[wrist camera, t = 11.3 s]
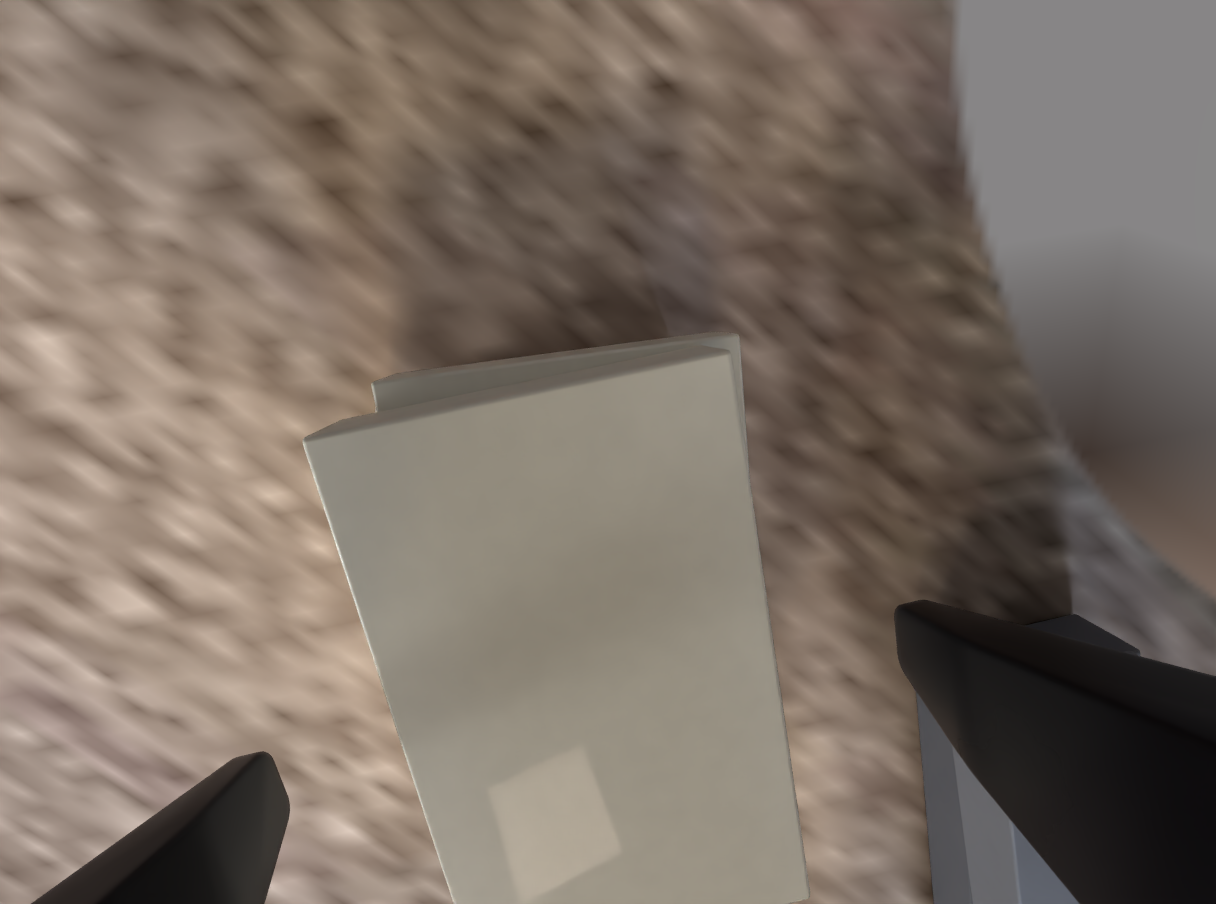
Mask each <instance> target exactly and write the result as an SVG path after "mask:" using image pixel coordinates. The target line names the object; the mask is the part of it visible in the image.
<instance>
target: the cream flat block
mask: <svg viewBox="0 0 1216 904" xmlns="http://www.w3.org/2000/svg"><path fill="white" fill-rule="evenodd" d="M699 345H703V346H709V347H714V348H720V349H726V350H729V351H730V353H731V356H732V363H733V369H734V376H735V383H736V390H737V397H738V403H739V410H740V417H741V424H742V431H743V438H744V444H745V451H746V458H747V465H748V472H749V462H748V448H747V434H746V421H745V407H744V393H743V379H742V366H741V352H740V338H739V335H738V334H736V333H725V332H706V333H699V334H691V335H684V336H676V337H668V338H661V339H653V340H646V341H638V342H631V343H623V344H616V345H608V346H600V347H593V348H585V349H578V350H570V351H563V352H555V353H547V354H540V355H532V356H525V357H517V358H510V359H502V360H495V361H487V362H479V363H472V364H464V365H457V366H449V367H442V368H434V369H427V370H419V371H411V372H404V373H397V374H394V375H391V376H388V377H385V378H382V379H379V380H377V381H374V382H372V385H371V387H372V392H373V396H374V401H375V405H376V408H375V413H376V412H381V411H386V410H391V409H395V408H400V407H405V406H410V405H415V404H420V403H424V402H429V401H434V400H439V399H444V398H449V397H453V396H458V395H463V394H468V393H473V392H477V391H482V390H487V389H492V388H497V387H502V386H506V385H511V384H516V383H521V382H526V381H530V380H535V379H540V378H545V377H550V376H555V375H559V374H564V373H569V372H574V371H579V370H583V369H588V368H593V367H598V366H603V365H608V364H612V363H617V362H622V361H627V360H632V359H636V358H641V357H646V356H651V355H656V354H661V353H665V352H670V351H675V350H680V349H685V348H689V347H694V346H699ZM749 479H750V475H749Z"/></svg>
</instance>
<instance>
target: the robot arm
mask: <svg viewBox="0 0 1216 904" xmlns="http://www.w3.org/2000/svg"><path fill="white" fill-rule="evenodd" d="M894 621H895V632H896V643H897V654H898V660H899V663H900V666H901V668H902V670H903V672H904V674H905V676H906V677H907V679H908V680H909V682H910V683H911V684H912V686H913V687H914V689H915V690H916V692H917V693H918V695H919V696H920V698H921V699H922V701H923V702H924V704H925V705H926V707H927V708H928V710H929V711H930V713H931V714H932V716H933V717H934V719H935V720H936V722H937V723H938V725H939V726H940V728H941V729H942V731H943V732H944V734H945V735H946V737H947V738H948V739H949V741H950V742H951V744H952V745H953V747H954V748H955V750H956V751H957V753H958V754H959V756H960V757H961V758H962V760H963V761H964V763H965V764H966V765H967V767H968V768H969V770H970V771H971V772H972V773H973V775H974V776H975V777H976V778H977V780H978V781H979V782H980V784H981V785H982V786H983V787H984V788H985V790H986V791H987V792H988V793H989V795H990V796H991V797H992V798H993V799H994V801H995V802H996V803H997V804H998V805H999V807H1000V808H1001V809H1002V810H1003V812H1004V813H1005V814H1006V815H1007V816H1008V818H1009V819H1010V820H1011V821H1012V823H1013V824H1014V825H1015V826H1016V827H1017V829H1018V830H1019V831H1020V832H1021V833H1022V835H1023V836H1024V837H1025V838H1026V840H1027V841H1028V842H1029V843H1030V844H1031V846H1032V847H1033V848H1034V849H1035V850H1036V852H1037V853H1038V854H1039V855H1040V857H1041V858H1042V859H1043V860H1044V861H1045V863H1046V864H1047V865H1048V866H1049V868H1050V869H1051V870H1052V871H1053V872H1054V874H1055V875H1056V876H1057V877H1058V878H1059V880H1060V881H1061V882H1062V883H1063V885H1064V886H1065V887H1066V888H1067V889H1068V891H1069V892H1070V893H1071V894H1072V895H1073V897H1074V898H1075V899H1076V900H1077V902H1078V903H1079V904H1216V676H1212V675H1209V674H1205V673H1201V672H1197V671H1193V670H1190V669H1186V668H1182V667H1178V666H1174V665H1171V664H1167V663H1163V662H1159V661H1155V660H1152V659H1148V658H1144V657H1140V656H1136V655H1133V654H1129V653H1125V652H1121V651H1117V650H1114V649H1110V648H1106V647H1102V646H1099V645H1095V644H1091V643H1087V642H1083V641H1080V640H1076V639H1072V638H1068V637H1064V636H1061V635H1057V634H1053V633H1049V632H1046V631H1042V630H1038V629H1034V628H1030V627H1027V626H1023V625H1019V624H1015V623H1011V622H1008V621H1004V620H1000V619H996V618H993V617H989V616H985V615H981V614H977V613H974V612H970V611H966V610H962V609H958V608H955V607H951V606H947V605H943V604H940V603H936V602H932V601H928V600H918V601H914V602H910V603H905V604H901V605H899V606H898V607H897V608H896V609H895V613H894ZM289 813H290V804H289V798H288V795H287V793H286V790H285V787H284V785H283V782H282V780H281V777H280V775H279V772H278V770H277V767H276V765H275V762H274V760H273V758H272V756H271V755H270V754H269V753H267V752H264V751H263V752H257V753H252V754H248V755H244V756H239V757H236V758H234V759H232V760H230V761H229V762H228V763H226V764H225V765H223V766H222V767H221V768H219V769H218V770H216V771H215V772H214V773H212V774H211V775H210V776H208V777H207V778H205V779H204V780H203V781H201V782H200V783H198V784H197V785H196V786H194V787H193V788H191V789H190V790H189V791H187V792H186V793H184V794H183V795H182V796H180V797H179V798H178V799H176V800H175V801H173V802H172V803H171V804H169V805H168V806H166V807H165V808H164V809H162V810H161V811H159V812H158V813H157V814H155V815H154V816H152V817H151V818H150V819H148V820H147V821H146V822H144V823H143V824H141V825H140V826H139V827H137V828H136V829H134V830H133V831H132V832H130V833H129V834H127V835H126V836H125V837H123V838H122V839H120V840H119V841H118V842H116V843H115V844H114V845H112V846H111V847H109V848H108V849H107V850H105V851H104V852H102V853H101V854H100V855H98V856H97V857H95V858H94V859H93V860H91V861H90V862H88V863H87V864H86V865H84V866H83V867H82V868H80V869H79V870H77V871H76V872H75V873H73V874H72V875H70V876H69V877H68V878H66V879H65V880H63V881H62V882H61V883H59V884H58V885H56V886H55V887H54V888H52V889H51V890H50V891H48V892H47V893H45V894H44V895H43V896H41V897H40V898H38V899H37V900H36V901H34V902H33V903H31V904H264V903H265V900H266V896H267V893H268V889H269V886H270V882H271V879H272V876H273V872H274V869H275V865H276V862H277V858H278V855H279V851H280V848H281V844H282V841H283V837H284V834H285V830H286V827H287V823H288V819H289Z"/></svg>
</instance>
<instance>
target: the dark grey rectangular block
mask: <svg viewBox="0 0 1216 904" xmlns="http://www.w3.org/2000/svg"><path fill="white" fill-rule="evenodd" d="M1026 626H1027V627H1030V628H1034V629H1038V630H1042V631H1046V632H1049V633H1053V634H1057V635H1061V636H1064V637H1068V638H1072V639H1076V640H1080V641H1083V642H1087V643H1091V644H1095V645H1099V646H1102V647H1106V648H1110V649H1114V650H1117V651H1121V652H1125V653H1129V654H1133V655H1136V656H1140V651H1139V650H1138V649H1137V648H1135V647H1133V646H1132V645H1130V644H1128V643H1126V642H1125V641H1123V640H1121V639H1119V638H1117V637H1116V636H1114V635H1112V634H1110V633H1109V632H1107V631H1105V630H1103V629H1102V628H1100V627H1098V626H1096V625H1094V624H1093V623H1091V622H1089V621H1087V620H1086V619H1084V618H1082V617H1080V616H1078V615H1076V614H1073V615H1068V616H1064V617H1060V618H1055V619H1051V620H1047V621H1043V622H1038V623H1034V624H1030V625H1026ZM1140 657H1141V656H1140ZM916 696H917V708H918V720H919V732H920V744H921V756H922V768H923V780H924V792H925V804H926V816H927V828H928V840H929V852H930V864H931V876H932V888H933V899H934V904H1079V903H1078V902H1077V900H1076V899H1075V898H1074V897H1073V895H1072V894H1071V893H1070V892H1069V891H1068V889H1067V888H1066V887H1065V886H1064V885H1063V883H1062V882H1061V881H1060V880H1059V878H1058V877H1057V876H1056V875H1055V874H1054V872H1053V871H1052V870H1051V869H1050V868H1049V866H1048V865H1047V864H1046V863H1045V861H1044V860H1043V859H1042V858H1041V857H1040V855H1039V854H1038V853H1037V852H1036V850H1035V849H1034V848H1033V847H1032V846H1031V844H1030V843H1029V842H1028V841H1027V840H1026V838H1025V837H1024V836H1023V835H1022V833H1021V832H1020V831H1019V830H1018V829H1017V827H1016V826H1015V825H1014V824H1013V823H1012V821H1011V820H1010V819H1009V818H1008V816H1007V815H1006V814H1005V813H1004V812H1003V810H1002V809H1001V808H1000V807H999V805H998V804H997V803H996V802H995V801H994V799H993V798H992V797H991V796H990V795H989V793H988V792H987V791H986V790H985V788H984V787H983V786H982V785H981V784H980V782H979V781H978V780H977V778H976V777H975V776H974V775H973V773H972V772H971V771H970V770H969V768H968V767H967V765H966V764H965V763H964V761H963V760H962V758H961V757H960V756H959V754H958V753H957V751H956V750H955V748H954V747H953V745H952V744H951V742H950V741H949V739H948V738H947V737H946V735H945V734H944V732H943V731H942V729H941V728H940V726H939V725H938V723H937V722H936V720H935V719H934V717H933V716H932V714H931V713H930V711H929V710H928V708H927V707H926V705H925V704H924V702H923V701H922V699H921V698H920V696H919V695H918V693H917V692H916Z"/></svg>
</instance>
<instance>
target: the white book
mask: <svg viewBox="0 0 1216 904" xmlns="http://www.w3.org/2000/svg"><path fill="white" fill-rule="evenodd" d="M303 446H304V449H305V453H306V456H307V459H308V462H309V465H310V468H311V471H312V474H313V477H314V480H315V483H316V486H317V489H318V492H319V495H320V498H321V501H322V504H323V507H324V510H325V513H326V516H327V520H328V523H329V526H330V529H331V532H332V535H333V538H334V541H335V544H336V547H337V550H338V553H339V556H340V559H341V562H342V565H343V568H344V571H345V574H346V577H347V580H348V583H349V586H350V590H351V593H352V596H353V599H354V602H355V605H356V608H357V611H358V614H359V617H360V620H361V623H362V626H363V629H364V632H365V635H366V638H367V641H368V644H369V647H370V650H371V653H372V657H373V660H374V663H375V666H376V669H377V672H378V675H379V678H380V681H381V684H382V687H383V690H384V693H385V696H386V699H387V702H388V705H389V708H390V711H391V714H392V717H393V720H394V723H395V727H396V730H397V733H398V736H399V739H400V742H401V745H402V748H403V751H404V754H405V757H406V760H407V763H408V766H409V769H410V772H411V775H412V778H413V781H414V784H415V787H416V790H417V794H418V797H419V800H420V803H421V806H422V809H423V812H424V815H425V818H426V821H427V824H428V827H429V830H430V833H431V836H432V839H433V842H434V845H435V848H436V851H437V854H438V857H439V860H440V864H441V867H442V870H443V873H444V876H445V879H446V882H447V885H448V888H449V891H450V894H451V897H452V900H453V903H454V904H789V903H793V902H797V901H801V900H805V899H808V898H809V897H810V888H809V881H808V875H807V868H806V861H805V854H804V847H803V840H802V834H801V827H800V820H799V813H798V806H797V800H796V793H795V786H794V779H793V772H792V765H791V759H790V752H789V745H788V738H787V731H786V724H785V718H784V711H783V704H782V697H781V690H780V683H779V677H778V670H777V663H776V656H775V649H774V642H773V636H772V629H771V622H770V615H769V608H768V602H767V595H766V588H765V581H764V574H763V567H762V561H761V554H760V547H759V540H758V533H757V526H756V520H755V513H754V506H753V499H752V492H751V485H750V479H749V472H748V465H747V458H746V451H745V444H744V438H743V431H742V424H741V417H740V410H739V403H738V397H737V390H736V383H735V376H734V369H733V363H732V356H731V353H730V351H729V350H726V349H720V348H714V347H709V346H703V345H699V346H694V347H689V348H685V349H680V350H675V351H670V352H665V353H661V354H656V355H651V356H646V357H641V358H636V359H632V360H627V361H622V362H617V363H612V364H608V365H603V366H598V367H593V368H588V369H583V370H579V371H574V372H569V373H564V374H559V375H555V376H550V377H545V378H540V379H535V380H530V381H526V382H521V383H516V384H511V385H506V386H502V387H497V388H492V389H487V390H482V391H477V392H473V393H468V394H463V395H458V396H453V397H449V398H444V399H439V400H434V401H429V402H424V403H420V404H415V405H410V406H405V407H400V408H395V409H391V410H386V411H381V412H376V413H371V414H367V415H362V416H357V417H352V418H347V419H342V420H340V421H338V422H336V423H334V424H332V425H330V426H327V427H325V428H323V429H321V430H319V431H317V432H315V433H313V434H311V435H308V436H307V437H305V438H304V439H303Z"/></svg>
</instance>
